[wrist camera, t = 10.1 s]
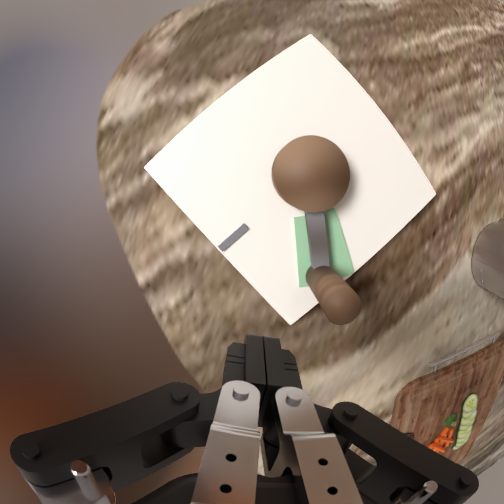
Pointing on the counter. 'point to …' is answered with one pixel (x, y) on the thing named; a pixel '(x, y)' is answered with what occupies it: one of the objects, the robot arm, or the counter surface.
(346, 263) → the white square slab
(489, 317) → the counter surface
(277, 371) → the robot arm
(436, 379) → the chopping board
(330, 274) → the crank handle
